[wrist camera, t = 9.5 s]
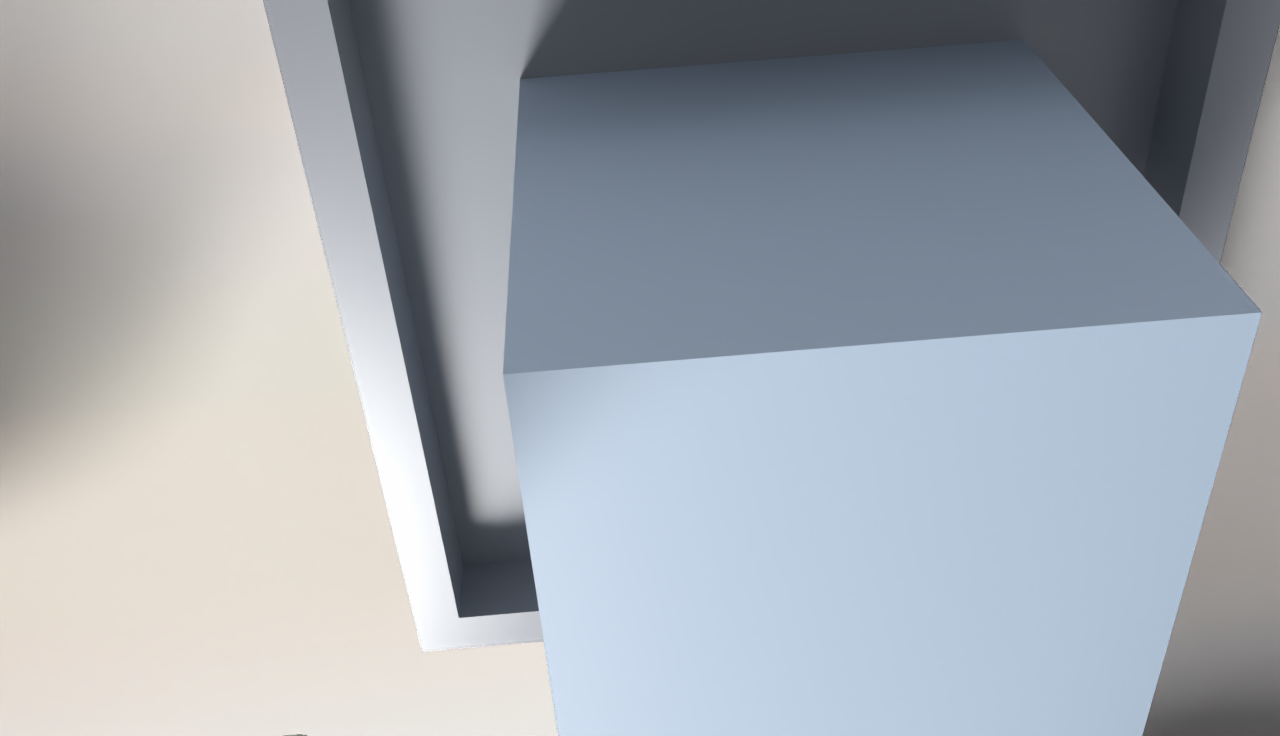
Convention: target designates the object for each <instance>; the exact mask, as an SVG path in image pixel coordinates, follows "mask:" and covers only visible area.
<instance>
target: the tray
mask: <svg viewBox="0 0 1280 736" xmlns="http://www.w3.org/2000/svg"><path fill="white" fill-rule="evenodd" d="M263 2H264V6H265V10H266V14H267V18H268V23H269V27H270V31H271V35H272V39H273V43H274V47H275V51H276V55H277V59H278V64H279V68H280V72H281V76H282V80H283V84H284V88H285V92H286V96H287V100H288V105H289V109H290V113H291V117H292V121H293V125H294V129H295V133H296V137H297V141H298V146H299V150H300V154H301V158H302V162H303V166H304V170H305V174H306V178H307V182H308V187H309V191H310V195H311V199H312V203H313V207H314V211H315V215H316V219H317V223H318V228H319V232H320V236H321V240H322V244H323V248H324V252H325V256H326V260H327V264H328V269H329V273H330V277H331V281H332V285H333V289H334V293H335V297H336V301H337V305H338V310H339V314H340V318H341V322H342V326H343V330H344V334H345V338H346V342H347V346H348V351H349V355H350V359H351V363H352V367H353V371H354V375H355V379H356V383H357V387H358V392H359V396H360V400H361V404H362V408H363V412H364V416H365V420H366V424H367V428H368V433H369V437H370V441H371V445H372V449H373V453H374V457H375V461H376V465H377V469H378V473H379V478H380V482H381V486H382V490H383V494H384V498H385V502H386V506H387V510H388V514H389V519H390V523H391V527H392V531H393V535H394V539H395V543H396V547H397V551H398V555H399V560H400V564H401V568H402V572H403V576H404V580H405V584H406V588H407V592H408V596H409V601H410V605H411V609H412V613H413V617H414V621H415V625H416V629H417V633H418V637H419V642H420V646H421V650H422V652H425V651H437V650H449V649H460V648H472V647H483V646H495V645H506V644H518V643H530V642H541V641H544V639H543V633H542V626H541V620H540V613H539V607H538V600H537V594H536V587H535V581H534V574H533V568H532V561H531V555H530V548H529V542H528V535H527V529H526V522H525V515H524V509H523V502H522V496H521V489H520V483H519V476H518V470H517V463H516V457H515V450H514V444H513V437H512V431H511V424H510V418H509V411H508V405H507V398H506V392H505V385H504V379H503V363H504V346H505V329H506V311H507V294H508V277H509V259H510V242H511V224H512V207H513V190H514V172H515V155H516V138H517V120H518V103H519V86H520V79H527V78H540V77H552V76H565V75H578V74H590V73H603V72H616V71H629V70H641V69H654V68H667V67H679V66H692V65H705V64H718V63H730V62H743V61H756V60H768V59H781V58H794V57H807V56H819V55H832V54H845V53H857V52H870V51H883V50H896V49H908V48H921V47H934V46H946V45H959V44H972V43H985V42H997V41H1010V40H1023V39H1024V41H1025V42H1026V43H1027V44H1028V45H1029V46H1030V48H1031V49H1032V50H1033V51H1034V52H1035V53H1036V54H1037V56H1038V57H1039V58H1040V59H1041V60H1042V61H1043V62H1044V64H1045V65H1046V66H1047V67H1048V68H1049V69H1050V70H1051V72H1052V73H1053V74H1054V75H1055V76H1056V77H1057V78H1058V80H1059V81H1060V82H1061V83H1062V84H1063V85H1064V86H1065V88H1066V89H1067V90H1068V91H1069V92H1070V93H1071V94H1072V96H1073V97H1074V98H1075V99H1076V100H1077V101H1078V102H1079V104H1080V105H1081V106H1082V107H1083V108H1084V109H1085V110H1086V112H1087V113H1088V114H1089V115H1090V116H1091V117H1092V118H1093V120H1094V121H1095V122H1096V123H1097V124H1098V125H1099V126H1100V128H1101V129H1102V130H1103V131H1104V132H1105V133H1106V134H1107V136H1108V137H1109V138H1110V139H1111V140H1112V141H1113V142H1114V144H1115V145H1116V146H1117V147H1118V148H1119V149H1120V150H1121V152H1122V153H1123V154H1124V155H1125V156H1126V157H1127V158H1128V160H1129V161H1130V162H1131V163H1132V164H1133V165H1134V166H1135V168H1136V169H1137V170H1138V171H1139V172H1140V173H1141V174H1142V176H1143V177H1144V178H1145V179H1146V180H1147V181H1148V182H1149V184H1150V185H1151V186H1152V187H1153V188H1154V189H1155V190H1156V192H1157V193H1158V194H1159V195H1160V196H1161V197H1162V198H1163V200H1164V201H1165V202H1166V203H1167V204H1168V205H1169V206H1170V208H1171V209H1172V210H1173V211H1174V212H1175V213H1176V214H1177V216H1178V217H1179V218H1180V219H1181V220H1182V221H1183V222H1184V224H1185V225H1186V226H1187V227H1188V228H1189V229H1190V230H1191V232H1192V233H1193V234H1194V235H1195V236H1196V237H1197V238H1198V240H1199V241H1200V242H1201V243H1202V244H1203V245H1204V246H1205V248H1206V249H1207V250H1208V251H1209V252H1210V253H1211V255H1212V256H1213V257H1214V258H1215V259H1216V260H1217V261H1218V263H1219V264H1220V261H1221V257H1222V253H1223V249H1224V245H1225V241H1226V237H1227V233H1228V229H1229V225H1230V221H1231V217H1232V213H1233V209H1234V205H1235V200H1236V196H1237V192H1238V188H1239V184H1240V180H1241V176H1242V172H1243V168H1244V164H1245V160H1246V156H1247V152H1248V148H1249V144H1250V140H1251V136H1252V132H1253V128H1254V124H1255V120H1256V116H1257V112H1258V108H1259V104H1260V100H1261V96H1262V92H1263V88H1264V84H1265V80H1266V76H1267V72H1268V68H1269V64H1270V60H1271V56H1272V52H1273V48H1274V44H1275V40H1276V36H1277V32H1278V28H1279V24H1280V0H263Z"/></svg>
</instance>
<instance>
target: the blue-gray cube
mask: <svg viewBox="0 0 1280 736" xmlns="http://www.w3.org/2000/svg"><path fill="white" fill-rule="evenodd" d="M1261 314H1262V312H1261V311H1260V309H1259V308H1258V307H1257V306H1256V305H1255V304H1254V303H1253V301H1252V300H1251V299H1250V298H1249V297H1248V296H1247V295H1246V293H1245V292H1244V291H1243V290H1242V289H1241V288H1240V287H1239V285H1238V284H1237V283H1236V282H1235V281H1234V280H1233V279H1232V277H1231V276H1230V275H1229V274H1228V273H1227V272H1226V271H1225V269H1224V268H1223V267H1222V266H1221V265H1220V264H1219V263H1218V261H1217V260H1216V259H1215V258H1214V257H1213V256H1212V255H1211V253H1210V252H1209V251H1208V250H1207V249H1206V248H1205V246H1204V245H1203V244H1202V243H1201V242H1200V241H1199V240H1198V238H1197V237H1196V236H1195V235H1194V234H1193V233H1192V232H1191V230H1190V229H1189V228H1188V227H1187V226H1186V225H1185V224H1184V222H1183V221H1182V220H1181V219H1180V218H1179V217H1178V216H1177V214H1176V213H1175V212H1174V211H1173V210H1172V209H1171V208H1170V206H1169V205H1168V204H1167V203H1166V202H1165V201H1164V200H1163V198H1162V197H1161V196H1160V195H1159V194H1158V193H1157V192H1156V190H1155V189H1154V188H1153V187H1152V186H1151V185H1150V184H1149V182H1148V181H1147V180H1146V179H1145V178H1144V177H1143V176H1142V174H1141V173H1140V172H1139V171H1138V170H1137V169H1136V168H1135V166H1134V165H1133V164H1132V163H1131V162H1130V161H1129V160H1128V158H1127V157H1126V156H1125V155H1124V154H1123V153H1122V152H1121V150H1120V149H1119V148H1118V147H1117V146H1116V145H1115V144H1114V142H1113V141H1112V140H1111V139H1110V138H1109V137H1108V136H1107V134H1106V133H1105V132H1104V131H1103V130H1102V129H1101V128H1100V126H1099V125H1098V124H1097V123H1096V122H1095V121H1094V120H1093V118H1092V117H1091V116H1090V115H1089V114H1088V113H1087V112H1086V110H1085V109H1084V108H1083V107H1082V106H1081V105H1080V104H1079V102H1078V101H1077V100H1076V99H1075V98H1074V97H1073V96H1072V94H1071V93H1070V92H1069V91H1068V90H1067V89H1066V88H1065V86H1064V85H1063V84H1062V83H1061V82H1060V81H1059V80H1058V78H1057V77H1056V76H1055V75H1054V74H1053V73H1052V72H1051V70H1050V69H1049V68H1048V67H1047V66H1046V65H1045V64H1044V62H1043V61H1042V60H1041V59H1040V58H1039V57H1038V56H1037V54H1036V53H1035V52H1034V51H1033V50H1032V49H1031V48H1030V46H1029V45H1028V44H1027V43H1026V42H1025V41H1024V39H1023V40H1010V41H997V42H985V43H972V44H959V45H946V46H934V47H921V48H908V49H896V50H883V51H870V52H857V53H845V54H832V55H819V56H807V57H794V58H781V59H768V60H756V61H743V62H730V63H718V64H705V65H692V66H679V67H667V68H654V69H641V70H629V71H616V72H603V73H590V74H578V75H565V76H552V77H540V78H527V79H520V86H519V103H518V120H517V138H516V155H515V172H514V190H513V207H512V224H511V242H510V259H509V277H508V294H507V311H506V329H505V346H504V363H503V379H504V385H505V392H506V398H507V405H508V411H509V418H510V424H511V431H512V437H513V444H514V450H515V457H516V463H517V470H518V476H519V483H520V489H521V496H522V502H523V509H524V515H525V522H526V529H527V535H528V542H529V548H530V555H531V561H532V568H533V574H534V581H535V587H536V594H537V600H538V607H539V613H540V620H541V626H542V633H543V639H544V646H545V652H546V659H547V665H548V672H549V678H550V685H551V691H552V698H553V705H554V711H555V718H556V724H557V731H558V736H1142V735H1143V732H1144V728H1145V725H1146V721H1147V718H1148V714H1149V710H1150V707H1151V703H1152V700H1153V696H1154V693H1155V689H1156V686H1157V682H1158V679H1159V675H1160V672H1161V668H1162V664H1163V661H1164V657H1165V654H1166V650H1167V647H1168V643H1169V640H1170V636H1171V633H1172V629H1173V626H1174V622H1175V618H1176V615H1177V611H1178V608H1179V604H1180V601H1181V597H1182V594H1183V590H1184V587H1185V583H1186V580H1187V576H1188V572H1189V569H1190V565H1191V562H1192V558H1193V555H1194V551H1195V548H1196V544H1197V541H1198V537H1199V534H1200V530H1201V526H1202V523H1203V519H1204V516H1205V512H1206V509H1207V505H1208V502H1209V498H1210V495H1211V491H1212V488H1213V484H1214V481H1215V477H1216V473H1217V470H1218V466H1219V463H1220V459H1221V456H1222V452H1223V449H1224V445H1225V442H1226V438H1227V435H1228V431H1229V427H1230V424H1231V420H1232V417H1233V413H1234V410H1235V406H1236V403H1237V399H1238V396H1239V392H1240V389H1241V385H1242V381H1243V378H1244V374H1245V371H1246V367H1247V364H1248V360H1249V357H1250V353H1251V350H1252V346H1253V343H1254V339H1255V335H1256V332H1257V328H1258V325H1259V321H1260V318H1261Z"/></svg>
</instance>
